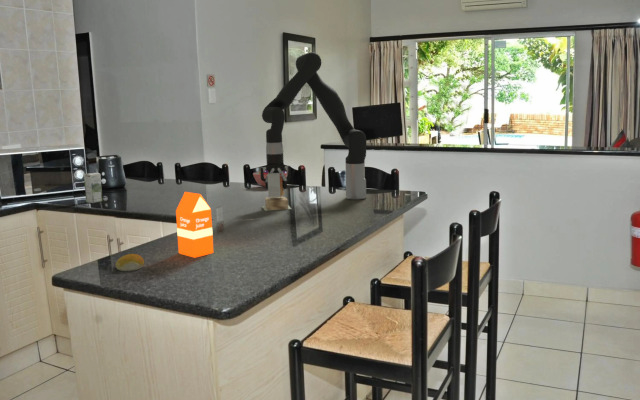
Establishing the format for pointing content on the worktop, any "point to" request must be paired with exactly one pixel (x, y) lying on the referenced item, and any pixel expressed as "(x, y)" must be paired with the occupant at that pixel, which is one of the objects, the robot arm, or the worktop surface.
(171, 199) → the worktop surface
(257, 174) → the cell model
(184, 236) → the orange juice
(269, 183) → the small box
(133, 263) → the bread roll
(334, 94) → the robot arm
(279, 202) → the oak block
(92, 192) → the syrup box
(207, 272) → the worktop surface
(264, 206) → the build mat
